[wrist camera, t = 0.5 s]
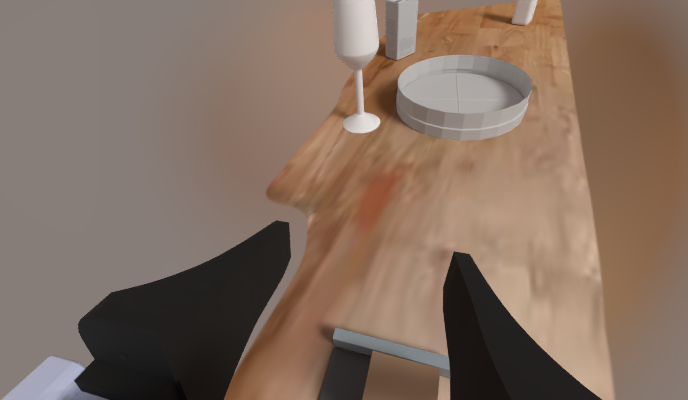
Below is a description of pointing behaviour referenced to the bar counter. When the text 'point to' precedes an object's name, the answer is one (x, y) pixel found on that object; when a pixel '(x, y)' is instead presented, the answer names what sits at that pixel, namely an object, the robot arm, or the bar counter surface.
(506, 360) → the robot arm
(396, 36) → the skincare box
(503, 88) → the dish
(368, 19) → the champagne flute
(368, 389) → the walnut block
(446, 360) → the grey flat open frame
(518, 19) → the pepper shaker
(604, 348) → the bar counter surface
